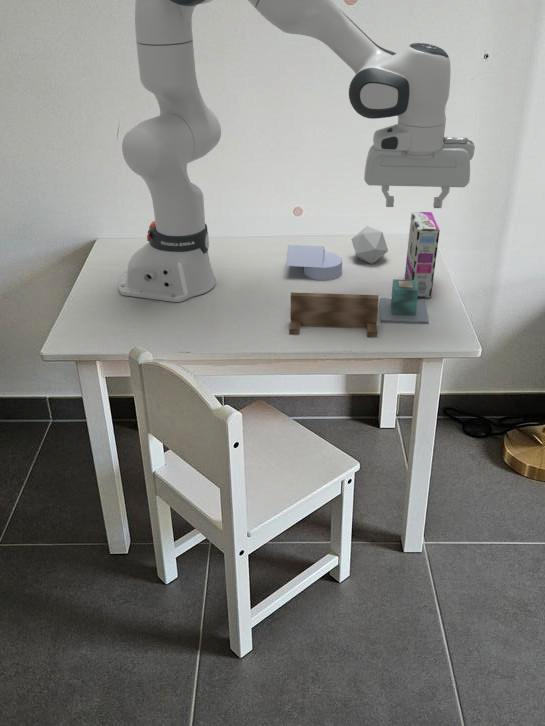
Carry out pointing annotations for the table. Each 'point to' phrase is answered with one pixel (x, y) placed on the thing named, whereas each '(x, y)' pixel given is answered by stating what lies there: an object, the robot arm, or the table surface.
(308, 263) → the wedge on round base
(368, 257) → the die
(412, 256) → the candy bar box
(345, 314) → the walnut board
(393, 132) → the robot arm
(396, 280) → the teal block
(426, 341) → the table surface
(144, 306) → the table surface
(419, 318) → the grey mat
